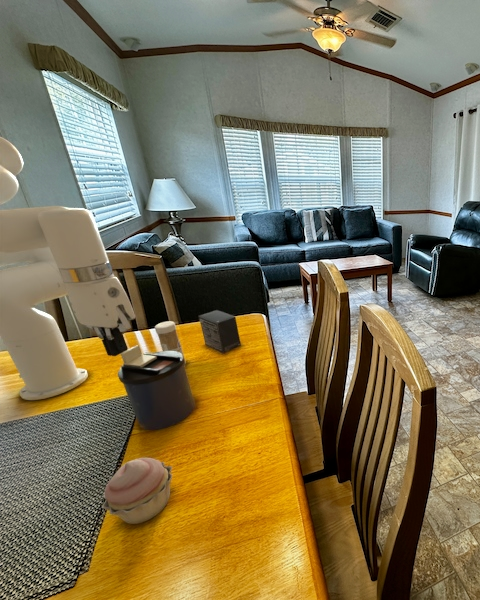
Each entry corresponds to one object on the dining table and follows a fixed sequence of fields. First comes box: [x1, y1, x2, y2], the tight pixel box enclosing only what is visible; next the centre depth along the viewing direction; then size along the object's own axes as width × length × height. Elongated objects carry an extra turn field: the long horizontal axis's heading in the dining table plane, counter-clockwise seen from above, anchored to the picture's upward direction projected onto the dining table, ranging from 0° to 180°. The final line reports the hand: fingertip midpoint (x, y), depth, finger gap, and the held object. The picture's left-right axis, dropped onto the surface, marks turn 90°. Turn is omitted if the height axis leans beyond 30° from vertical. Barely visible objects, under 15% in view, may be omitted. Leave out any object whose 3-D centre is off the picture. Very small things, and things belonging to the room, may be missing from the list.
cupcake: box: [101, 456, 173, 525], centre depth 53 cm, size 9×9×10 cm
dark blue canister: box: [117, 350, 196, 431], centre depth 73 cm, size 12×12×14 cm
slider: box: [120, 344, 157, 367], centre depth 71 cm, size 4×4×3 cm
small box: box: [197, 309, 242, 354], centre depth 103 cm, size 11×6×10 cm, turn 58°
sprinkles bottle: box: [154, 320, 187, 367], centre depth 92 cm, size 5×5×14 cm
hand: (118, 352), depth 72 cm, fingers closed
